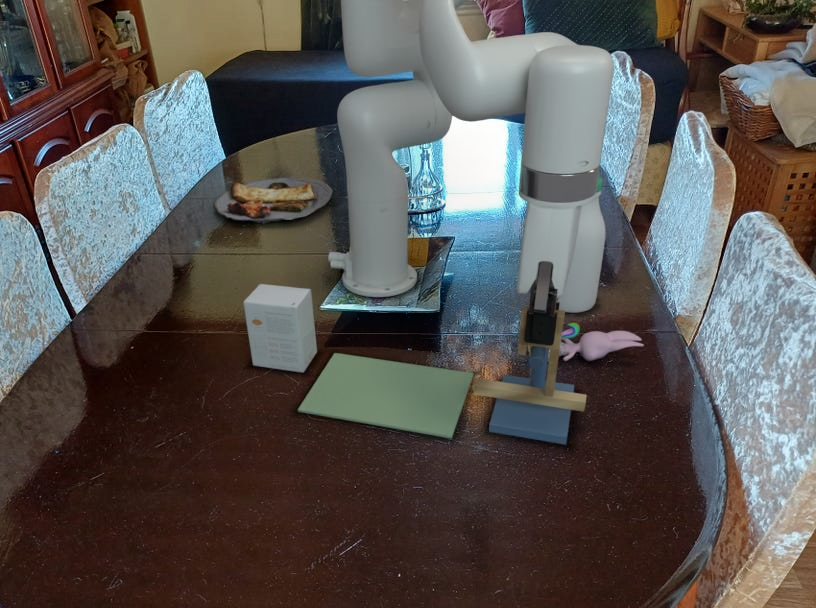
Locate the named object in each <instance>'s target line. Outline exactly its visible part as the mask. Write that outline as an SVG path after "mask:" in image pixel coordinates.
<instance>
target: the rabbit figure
mask: <svg viewBox="0 0 816 608" xmlns="http://www.w3.org/2000/svg"><path fill="white" fill-rule="evenodd" d="M567 326H569V327H570V328H568V329H565V330H562V338H561V345H560V352H559V357H561V356H563V358H562V360H563V362H567V361H568V360H570V359H572V358H573V357H574V356H575V354H576V353H579V356H580V357H581V358H583V359H584V361H588V362H592V361H596V360H599V359H603V358H604V357H606V356H607V355H608V354H609V353H611V352H612V353H613V352H616V351H619V350H623V349H625V348H631V347H644V346H645V344H643V343H641V341H643V340H642V338H641V337H640V336H639V335H637V334H635V333H633V332H631V331H627V330H612V331H609V332H604V331H598V330H597V331H596V330H594V331H593V330H592V331H589V332H586V333H584V334H583V335H582V336H580V339H579V342H577V343H574V342H573V341H572V340H570V339H574V338H576V337H577V336H578V335H579V334H580V330H581V329H580V328H581V327H580V325H579V324H578V323H577V322H571V323H567ZM527 352H528V358H529V357H530V353H531V346H529V345H528V349H527ZM549 355H550V348H549V354H548V362H547V363H549Z"/></svg>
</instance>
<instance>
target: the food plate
mask: <svg viewBox="0 0 816 608" xmlns="http://www.w3.org/2000/svg"><path fill="white" fill-rule="evenodd" d="M230 186H231V187H230V189H228V190H226V191H224V192H222V194H220V195H218V197H217V198H216V199H215V200H214V202H213V204H212V205H213V209H214V210H215V211H216V213H217V214H218V215H219V216H222V219H224V218H226V219H229V218H230V219H231V220H232V221H250V222H253V223H258V224H260V223H261V224H262V225H263V224H264V225H265V224H267V223H271V222H280V221H282V220H286V221H289V220H294V219H299V218H303V217H307V216H308V215H311V214H313V213H314V212H315V211H317V210H318V209H321V208H322V207H323V206H325V205H326V204H327V203H328V202H330V200H331V198H332V195H333V189H332V188H331V187H330V186H329V185H328V184H327V183H325V182H323V181H321V180H317V179H309V178H304V177H300V176H287V177H286V176H285V177H275V178H267V179H260V180H259V179H258V180H255V181H250V182H247V183H244V184H243V183H240V182H234V183H232V184H231V185H230Z"/></svg>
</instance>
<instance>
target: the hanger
mask: <svg viewBox="0 0 816 608" xmlns="http://www.w3.org/2000/svg"><path fill="white" fill-rule="evenodd" d="M528 309H529V306H526V305H523V306H522V308H521V312H520V321H519V331H518V339H517V341H518V342H517V351H516V354H517V355H520V356H527V352H528V345H529V346H530V347H532V346H536V347H544V348H550V355H549V362H547V370H546V378H545V381H546V386H545V388H538V387H532V386H525V385H518V384H512V383H505V382H502V381H497V380H490V379H485V378H476V379H475V381H474V385H473V395H475V396H481V397H488V398H494V399H497V398H500V399H506V400H513V401H519V402H526V403H532V404H538V405H545V406H551V407H557V408H564V409H570V410H571V411H578V412H583V413H584V412H585V409H586V403H587V396H588V395H587V394H585V393H577V392H573V393H572V392H565V391H558V390H554V389H555V382H556V381H557V380H556V379H557V374H558V366H559V365H558V364H559V360H560V359H559V358H560V356H559V352H560V345H561V342H562V340H561V338H562V332H563V331H564V330H563V329H564V323H565V322H564V321H565V314H566V312H565V311H562V310H555V312H557V313H558V314H557V322H556V330H555V337H554V343H553V345H542V344H534V343H527V342H525V340H524V338H525V328H526V318H527V310H528Z"/></svg>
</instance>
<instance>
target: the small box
mask: <svg viewBox="0 0 816 608" xmlns="http://www.w3.org/2000/svg"><path fill="white" fill-rule="evenodd" d="M312 295H313V294H312V289H311V288H304V287H294V286H284V285H274V284H265V283H259V284H258V285H257V286H256V288H255V289H253V291H252V292H251V293H250V294H249V295H248V296H247V297H246V298H245V299H244V301H243V309H244V316H245V322H246V329H247V336H248V343H249V348H250V355H251V362H252V363H251V364H252V365H253V366H254V367H261V368H268V369H275V370H282V371H289V372H296V373H305V371H306V370H307V368H308V367H309V366H310V364H311V363H312V361H313V359H314V358H315V356H316V354H317V353H318V347H317V346H318V345H317V336H316V326H315V317H314V316H315V315H314V307H313V306H314V305H313V296H312Z"/></svg>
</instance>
